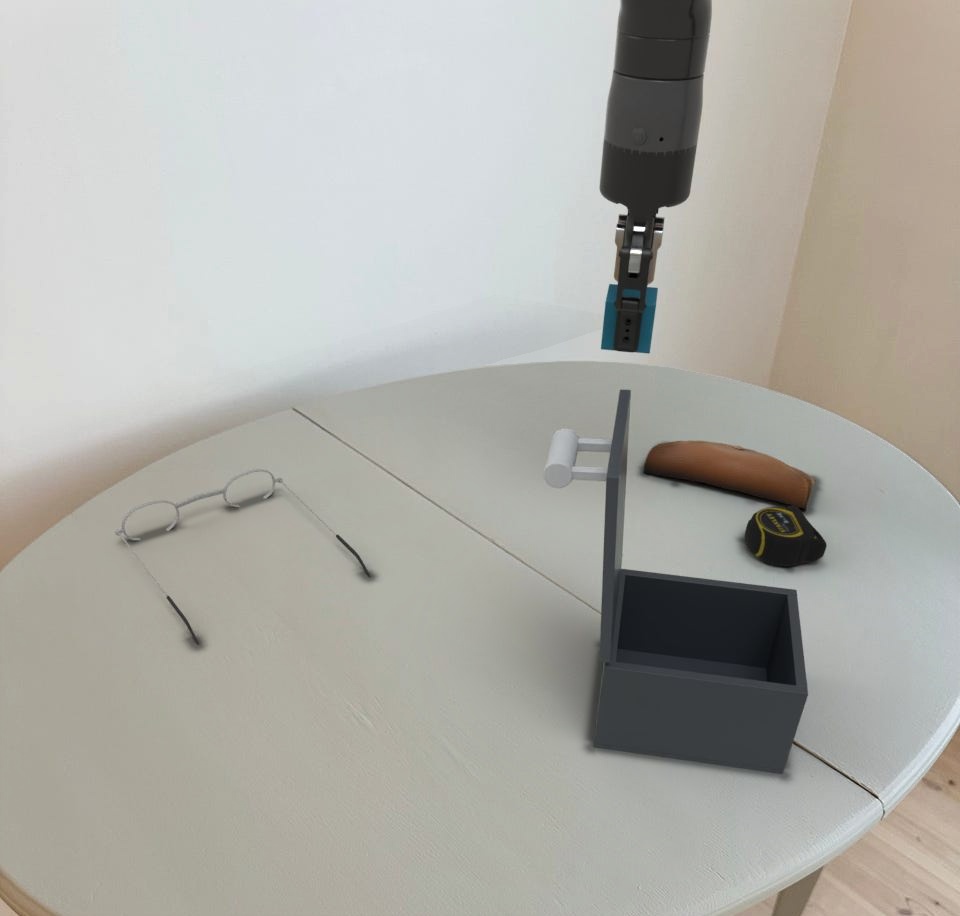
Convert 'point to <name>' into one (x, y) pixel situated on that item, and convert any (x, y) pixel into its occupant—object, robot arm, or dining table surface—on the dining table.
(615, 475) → the lid
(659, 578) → the open box
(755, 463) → the sunglasses case
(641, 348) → the blue block
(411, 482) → the dining table surface
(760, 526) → the tape measure
